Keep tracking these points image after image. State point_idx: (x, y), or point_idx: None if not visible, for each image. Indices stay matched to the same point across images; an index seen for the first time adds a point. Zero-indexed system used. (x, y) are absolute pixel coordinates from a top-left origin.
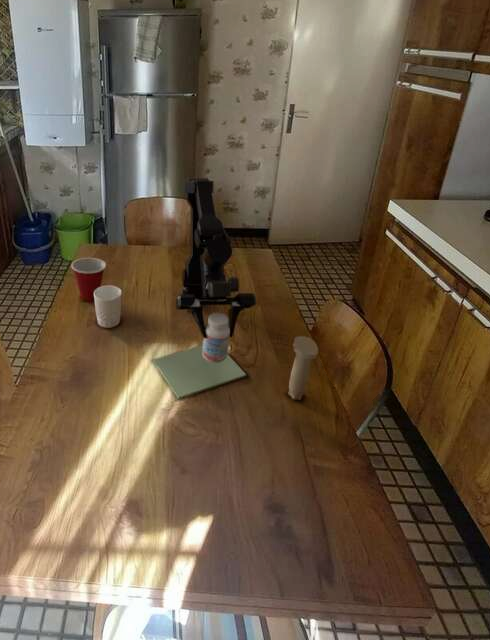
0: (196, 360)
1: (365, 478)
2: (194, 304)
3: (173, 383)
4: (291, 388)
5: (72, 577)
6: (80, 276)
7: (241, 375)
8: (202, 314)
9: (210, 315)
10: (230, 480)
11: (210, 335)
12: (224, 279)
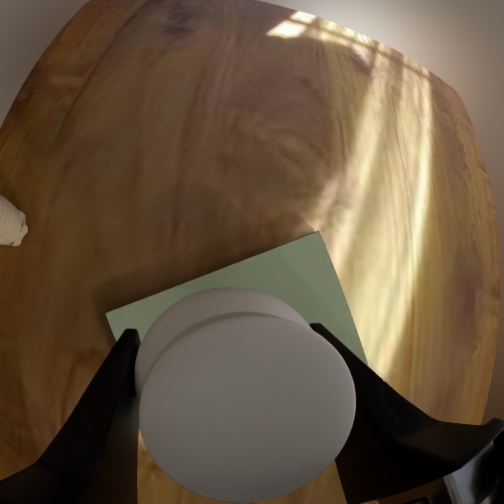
0: None
1: (33, 71)
2: (482, 468)
3: (329, 281)
4: (14, 211)
5: (390, 47)
6: None
7: (119, 309)
8: (398, 439)
9: (332, 453)
10: (231, 57)
11: (294, 311)
12: None
